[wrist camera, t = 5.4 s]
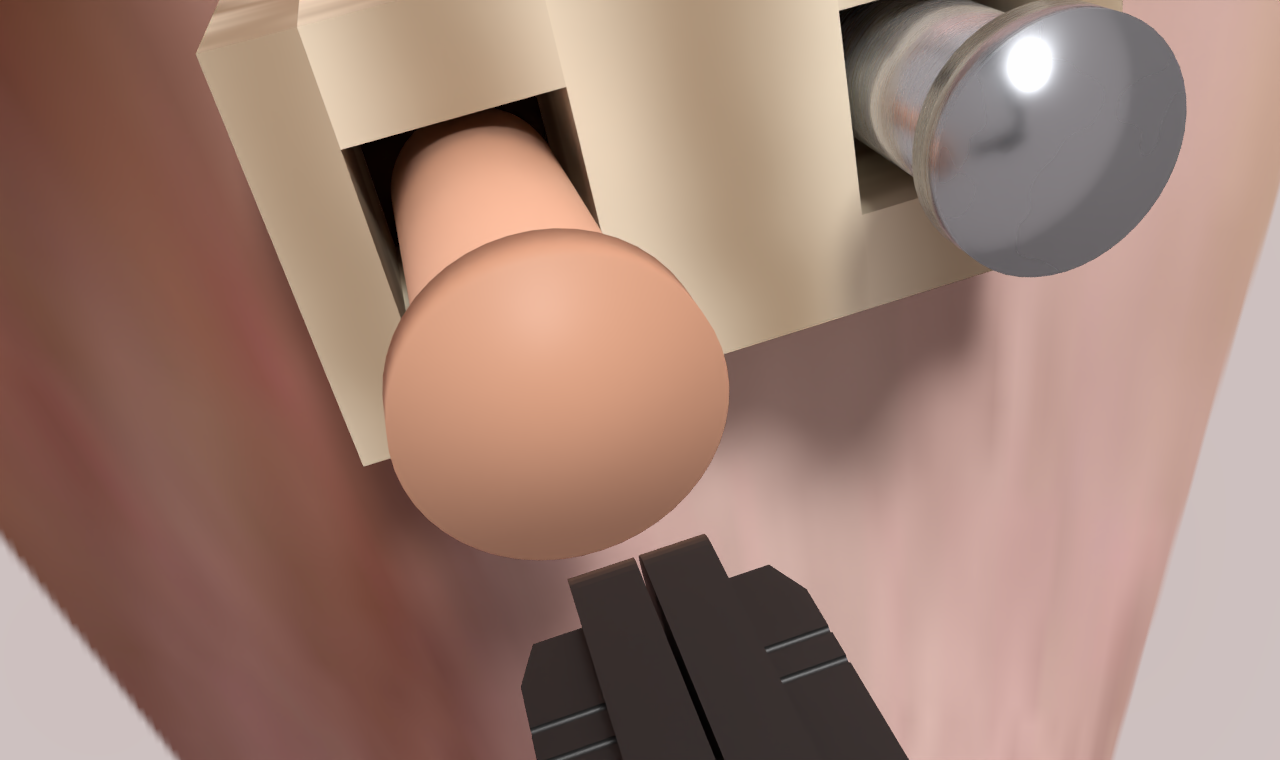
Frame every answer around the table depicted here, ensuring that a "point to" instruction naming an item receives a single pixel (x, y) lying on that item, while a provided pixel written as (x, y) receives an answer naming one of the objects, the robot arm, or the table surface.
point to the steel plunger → (1018, 121)
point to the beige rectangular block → (576, 153)
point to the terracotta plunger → (537, 354)
